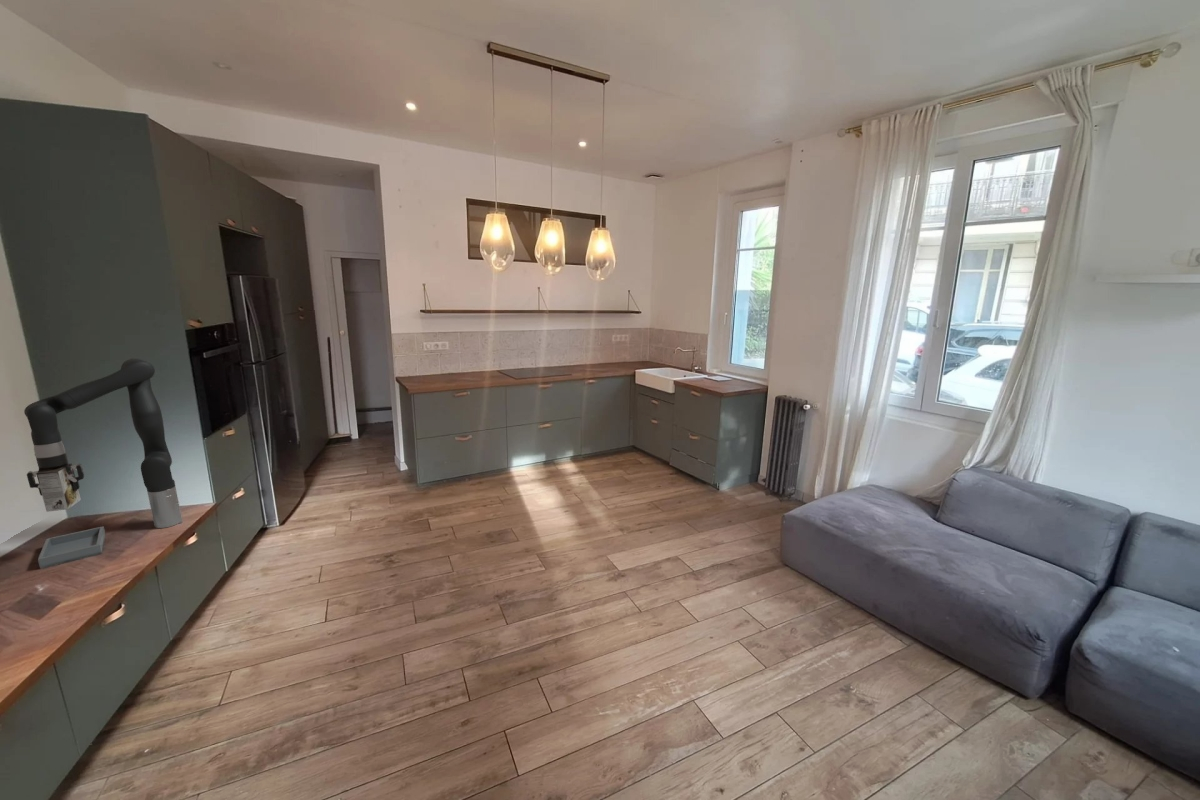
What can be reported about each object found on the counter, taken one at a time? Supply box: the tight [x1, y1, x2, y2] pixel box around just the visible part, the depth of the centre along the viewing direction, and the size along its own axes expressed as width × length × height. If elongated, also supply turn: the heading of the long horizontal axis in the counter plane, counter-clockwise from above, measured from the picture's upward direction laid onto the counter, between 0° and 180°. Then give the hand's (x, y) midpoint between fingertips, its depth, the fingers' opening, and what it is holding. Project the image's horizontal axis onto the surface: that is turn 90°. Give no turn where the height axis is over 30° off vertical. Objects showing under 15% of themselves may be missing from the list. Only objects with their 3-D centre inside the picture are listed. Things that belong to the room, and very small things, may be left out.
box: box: [37, 526, 106, 570], centre depth 186 cm, size 16×20×4 cm
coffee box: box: [36, 463, 82, 513], centre depth 180 cm, size 9×6×16 cm
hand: (60, 493), depth 181 cm, fingers closed on coffee box, 7 cm apart
